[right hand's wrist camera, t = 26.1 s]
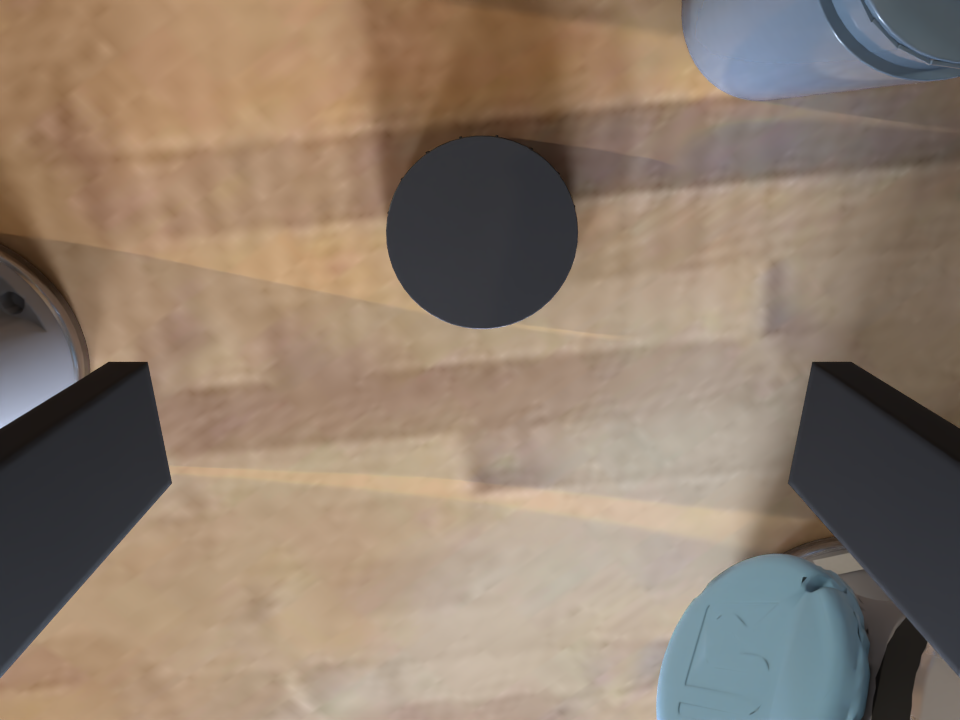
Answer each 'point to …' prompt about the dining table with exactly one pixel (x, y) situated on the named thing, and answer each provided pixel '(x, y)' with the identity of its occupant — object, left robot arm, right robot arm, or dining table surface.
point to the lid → (482, 232)
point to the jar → (821, 44)
